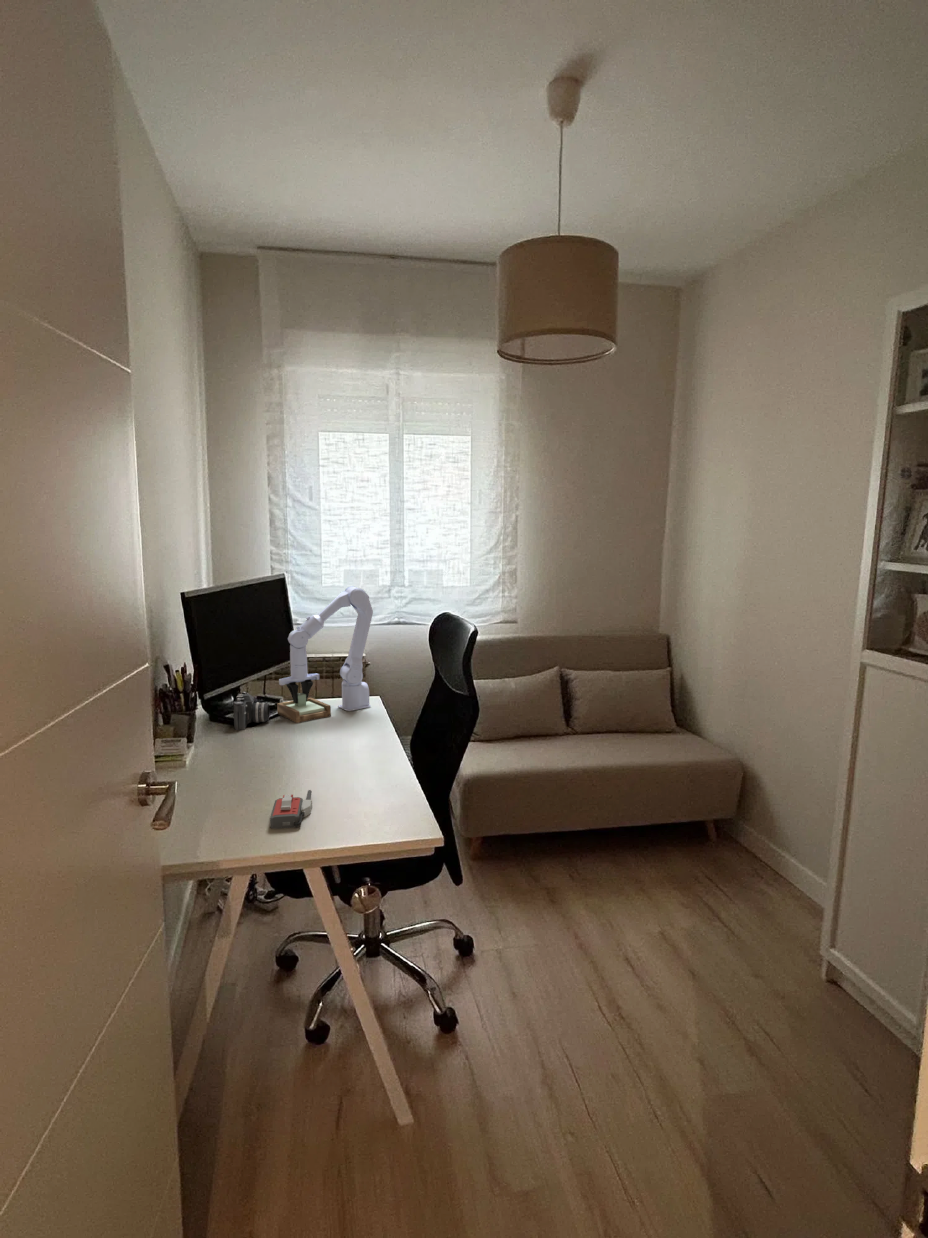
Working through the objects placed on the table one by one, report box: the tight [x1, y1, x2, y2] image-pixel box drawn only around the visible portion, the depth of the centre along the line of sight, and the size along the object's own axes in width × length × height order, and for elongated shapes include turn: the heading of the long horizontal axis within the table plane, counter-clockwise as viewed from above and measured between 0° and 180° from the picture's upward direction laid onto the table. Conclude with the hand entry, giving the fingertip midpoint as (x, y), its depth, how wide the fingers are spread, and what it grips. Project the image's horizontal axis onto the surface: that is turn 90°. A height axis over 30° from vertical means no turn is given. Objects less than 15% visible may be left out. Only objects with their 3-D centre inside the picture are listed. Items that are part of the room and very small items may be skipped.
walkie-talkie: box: [269, 789, 313, 830], centre depth 169 cm, size 9×4×20 cm
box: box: [276, 697, 332, 724], centre depth 252 cm, size 13×15×4 cm
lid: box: [286, 692, 325, 715], centre depth 252 cm, size 10×12×5 cm
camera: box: [232, 691, 270, 731], centre depth 242 cm, size 14×11×10 cm
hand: (300, 702), depth 254 cm, fingers closed on lid, 3 cm apart
